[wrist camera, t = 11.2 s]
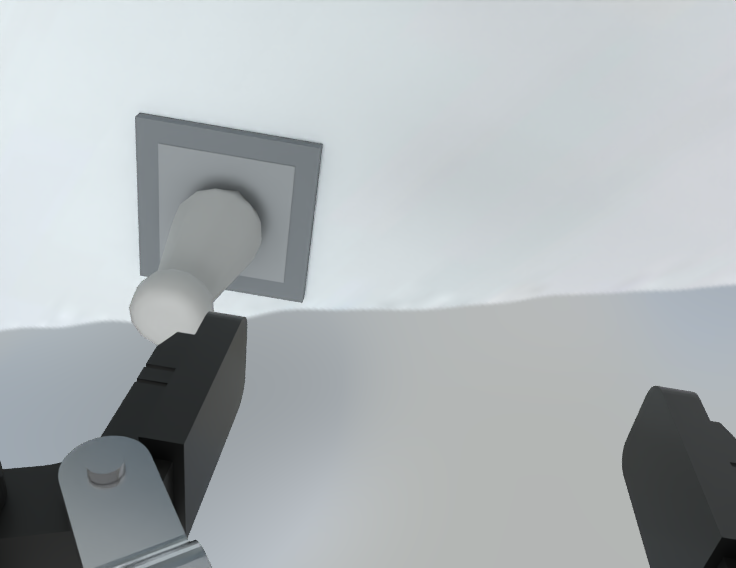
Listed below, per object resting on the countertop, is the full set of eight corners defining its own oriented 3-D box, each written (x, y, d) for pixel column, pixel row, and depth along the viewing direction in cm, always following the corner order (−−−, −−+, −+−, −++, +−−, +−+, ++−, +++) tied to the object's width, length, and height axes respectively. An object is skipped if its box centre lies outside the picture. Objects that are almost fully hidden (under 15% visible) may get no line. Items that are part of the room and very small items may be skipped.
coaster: (322, 144, 44) (320, 149, 44) (303, 296, 51) (302, 303, 50) (139, 112, 44) (134, 117, 43) (144, 269, 50) (139, 276, 50)
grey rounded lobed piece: (249, 266, 49) (196, 383, 38) (173, 230, 48) (96, 340, 36) (281, 200, 46) (235, 307, 35) (202, 160, 45) (127, 257, 34)
